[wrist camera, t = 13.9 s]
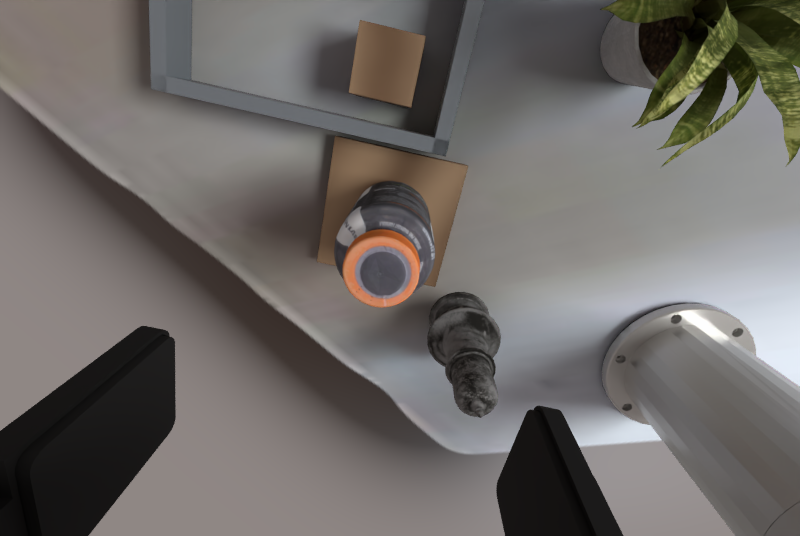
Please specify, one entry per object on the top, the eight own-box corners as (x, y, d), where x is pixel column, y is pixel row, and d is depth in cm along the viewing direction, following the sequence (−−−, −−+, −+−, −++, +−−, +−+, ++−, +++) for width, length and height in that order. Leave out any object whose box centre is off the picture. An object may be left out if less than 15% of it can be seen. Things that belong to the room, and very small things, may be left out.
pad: (466, 164, 29) (468, 166, 28) (434, 281, 33) (435, 286, 32) (337, 135, 29) (334, 136, 28) (319, 257, 32) (316, 261, 31)
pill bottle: (338, 204, 30) (298, 253, 19) (404, 164, 28) (400, 193, 18) (379, 267, 31) (363, 342, 21) (443, 231, 30) (459, 293, 20)
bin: (494, -57, 24) (504, -80, 21) (442, 152, 29) (445, 156, 26) (176, -138, 23) (144, -173, 20) (177, 91, 28) (151, 88, 25)
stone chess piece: (430, 350, 35) (438, 458, 24) (421, 293, 33) (425, 382, 22) (494, 343, 35) (532, 449, 24) (489, 284, 33) (528, 370, 22)
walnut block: (424, 47, 27) (425, 35, 23) (411, 108, 28) (410, 107, 24) (367, 33, 26) (359, 20, 23) (357, 95, 28) (348, 92, 24)
